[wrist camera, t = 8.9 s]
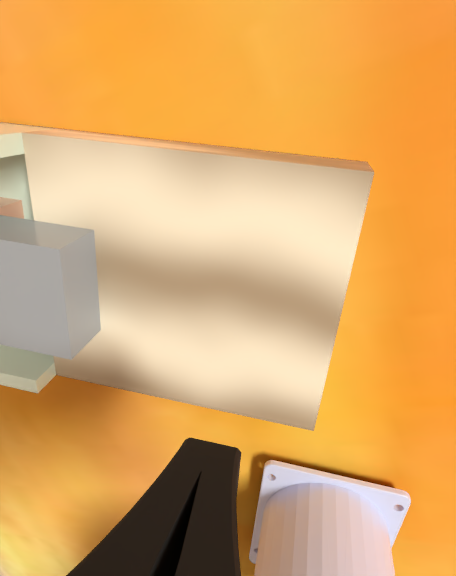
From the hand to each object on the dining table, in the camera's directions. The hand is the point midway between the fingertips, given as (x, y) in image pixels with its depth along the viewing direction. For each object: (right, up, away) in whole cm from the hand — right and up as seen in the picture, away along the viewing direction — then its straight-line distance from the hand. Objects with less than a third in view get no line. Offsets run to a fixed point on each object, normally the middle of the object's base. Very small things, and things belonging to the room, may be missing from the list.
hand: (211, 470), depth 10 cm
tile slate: (-8, +5, +8) cm, 13 cm away
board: (-1, +5, +9) cm, 11 cm away
